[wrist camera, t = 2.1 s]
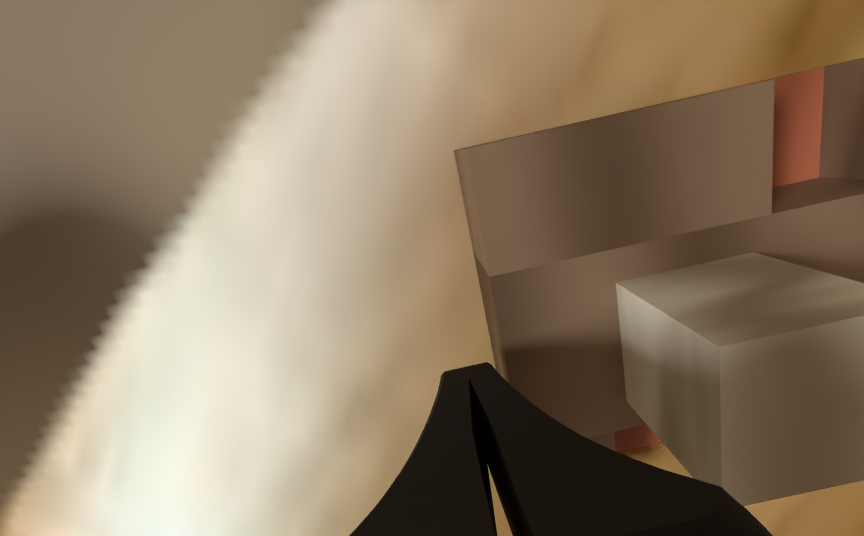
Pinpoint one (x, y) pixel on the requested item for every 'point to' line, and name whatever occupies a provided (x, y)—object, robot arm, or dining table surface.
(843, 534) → the dining table surface
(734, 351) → the block
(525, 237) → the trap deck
